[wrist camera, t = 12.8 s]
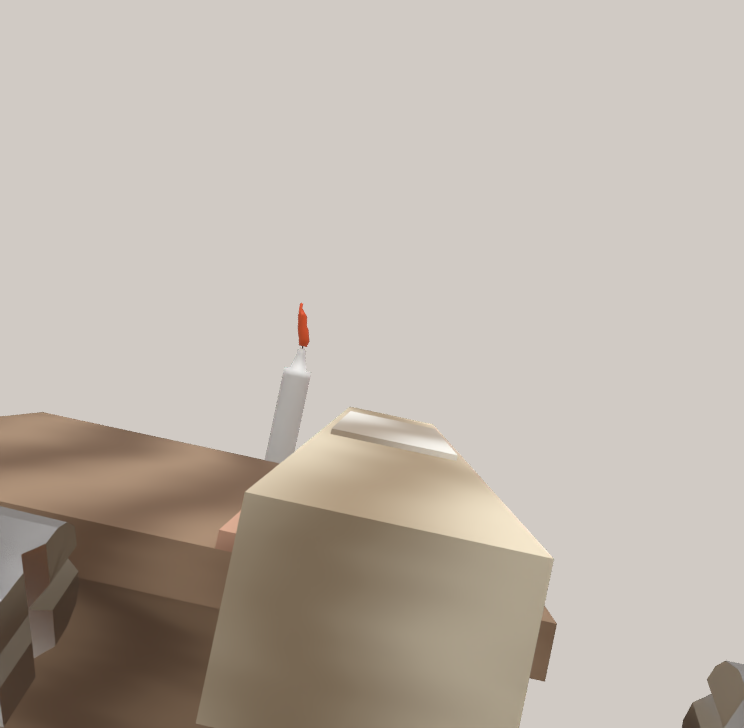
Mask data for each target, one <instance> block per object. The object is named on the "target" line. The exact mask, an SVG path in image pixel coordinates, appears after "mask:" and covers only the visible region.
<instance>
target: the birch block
mask: <svg viewBox="0 0 744 728" xmlns="http://www.w3.org/2000/svg"><path fill="white" fill-rule="evenodd" d="M553 561H554V558H553V557H552V556H551V555H550V554H549V553H548V552H547V551H546V550H545V548H544V547H543V546H542V545H541V544H540V543H539V542H538V541H537V540H536V538H535V537H534V536H533V535H532V534H531V533H530V532H529V531H528V530H527V528H526V527H525V526H524V525H523V524H522V523H521V522H520V521H519V520H518V519H517V517H516V516H515V515H514V514H513V513H512V512H511V511H510V510H509V508H508V507H507V506H506V505H505V504H504V503H503V502H502V501H501V500H500V499H499V497H498V496H497V495H496V494H495V493H494V492H493V491H492V490H491V488H490V487H489V486H488V485H487V484H486V483H485V482H484V481H483V480H482V479H481V477H480V476H479V475H478V474H477V473H476V472H475V471H474V470H473V468H472V467H471V466H470V465H469V464H468V463H467V462H466V461H465V460H464V459H463V457H462V456H461V455H460V454H459V453H458V452H457V451H456V450H455V448H453V446H452V445H451V444H450V443H449V442H448V441H447V440H446V438H445V437H444V436H443V435H442V434H441V433H440V432H439V431H438V430H437V428H436V427H435V426H434V425H433V424H429V423H423V422H419V421H414V420H410V419H405V418H401V417H396V416H391V415H386V414H382V413H377V412H372V411H368V410H362V409H358V408H353V407H349V408H348V409H347V410H345V411H344V412H343V413H342V414H341V415H339V416H338V417H337V418H336V419H334V420H333V421H332V422H331V423H329V424H328V425H327V426H326V427H324V428H323V429H322V430H321V431H319V432H318V433H317V434H316V435H315V436H313V437H312V438H311V439H310V440H308V441H307V442H306V443H305V444H304V445H302V446H301V447H300V448H299V449H297V450H296V451H295V452H294V453H292V454H291V455H290V456H289V457H287V458H286V459H285V460H284V461H282V462H281V463H280V464H279V465H277V466H276V467H275V468H274V469H273V470H271V471H270V472H269V473H268V474H266V475H265V476H264V477H263V478H261V479H260V480H259V481H258V482H256V483H255V484H254V485H253V486H252V487H250V488H249V489H248V490H247V491H245V494H244V498H243V503H242V508H241V512H240V517H239V522H238V526H237V531H236V536H235V541H234V545H233V550H232V555H231V559H230V564H229V569H228V574H227V578H226V583H225V588H224V592H223V597H222V602H221V607H220V611H219V616H218V621H217V625H216V630H215V635H214V639H213V644H212V649H211V654H210V658H209V663H208V668H207V672H206V677H205V682H204V687H203V691H202V696H201V701H200V705H199V710H198V715H197V719H196V724H200V725H204V726H209V727H213V728H519V725H520V721H521V715H522V711H523V706H524V701H525V696H526V692H527V687H528V682H529V677H530V672H531V667H532V663H533V658H534V653H535V648H536V643H537V639H538V634H539V629H540V624H541V619H542V614H543V610H544V605H545V600H546V595H547V590H548V585H549V581H550V575H551V571H552V566H553Z"/></svg>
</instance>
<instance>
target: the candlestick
mask: <svg viewBox="0 0 744 728" xmlns="http://www.w3.org/2000/svg"><path fill="white" fill-rule="evenodd" d="M302 306H303V304H302V303H301V304H300V308H299V314H298V335H299V345H301V346H302V348H300V349H298V352H297V355H296V356H295V358H294V360H293V362H292V364H291V366H290V368H288V367H284V372H283V377H282V381H281V386H280V391H279V396H278V400H277V405H276V410H275V414H274V419H273V424H272V428H271V433H270V438H269V443H268V447H267V452H266V457H265V460H266V461H271V462H276V463H281V462H282V461H284V460H285V459H286V458H287V457H289V456H290V455H291V454H292V453H294V451H295V446H296V442H297V437H298V432H299V427H300V422H301V418H302V413H303V409H304V404H305V399H306V394H307V390H308V385H309V380H310V375H311V372H307V371H306V360H305V354H306V351H305V349H303V346H305V347H307V345H308V343H309V332H308V328H307V316H306V314H305V313H304V311H303V309H302Z"/></svg>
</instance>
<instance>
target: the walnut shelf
mask: <svg viewBox="0 0 744 728" xmlns="http://www.w3.org/2000/svg"><path fill="white" fill-rule="evenodd" d="M279 464H280V463H276V462H271V461H266V460H261V459H257V458H252V457H248V456H243V455H238V454H234V453H229V452H224V451H220V450H215V449H210V448H206V447H201V446H197V445H192V444H187V443H183V442H178V441H173V440H169V439H164V438H159V437H155V436H150V435H146V434H141V433H136V432H132V431H127V430H123V429H118V428H113V427H109V426H104V425H99V424H94V423H90V422H85V421H80V420H76V419H71V418H67V417H62V416H57V415H53V414H48V413H44V412H40V413H30V414H21V415H11V416H1V417H0V506H2V507H6V508H10V509H14V510H18V511H23V512H27V513H31V514H35V515H39V516H44V517H48V518H52V519H56V520H60V521H64V522H68V523H70V524H72V525H74V526H75V533H76V542H77V546H76V547H75V549H74V550H73V552H72V553H71V555H70V556H69V558H68V559H69V560H70V561H71V563H72V564H73V565H74V566H75V568H76V569H77V570H78V571H79V589H78V596H77V602H76V605H75V608H74V610H73V613H72V615H71V618H70V621H69V623H68V626H67V628H66V629H65V631H64V633H63V634H62V636H61V637H60V639H59V641H58V642H57V644H56V646H54V647H53V648H51V649H49V650H47V651H46V652H44V653H42V654H41V655H39V656H37V657H35V658H34V666H35V676H36V677H35V679H34V681H33V682H32V684H31V685H30V687H29V688H28V690H27V692H26V693H25V695H24V696H23V698H22V699H21V701H20V703H19V704H18V706H17V707H16V709H15V710H14V712H13V714H12V715H11V717H10V718H9V720H8V721H7V723H6V725H5V726H4V727H0V728H213V727H209V726H204V725H200V724H196V719H197V715H198V710H199V705H200V701H201V696H202V691H203V687H204V682H205V677H206V672H207V668H208V663H209V658H210V654H211V649H212V644H213V639H214V635H215V630H216V625H217V621H218V616H219V611H220V607H221V602H222V597H223V592H224V588H225V583H226V578H227V574H228V569H229V564H230V559H231V555H232V550H233V545H234V541H235V536H236V531H237V526H238V522H239V517H240V512H241V508H242V503H243V498H244V494H245V491H247V490H248V489H249V488H250V487H252V486H253V485H254V484H255V483H256V482H258V481H259V480H260V479H261V478H263V477H264V476H265V475H266V474H268V473H269V472H270V471H271V470H273V469H274V468H275V467H276V466H277V465H279ZM556 625H557V623H556V622H555V621H554V619H553V618H552V616H551V615H550V613H549V612H548V610H547V609H546V607H545V606H544V610H543V614H542V619H541V624H540V629H539V634H538V639H537V643H536V648H535V653H534V658H533V663H532V667H531V672H530V677H529V678H531V679H536V680H541V681H545V678H546V673H547V669H548V664H549V659H550V654H551V649H552V644H553V639H554V635H555V630H556Z"/></svg>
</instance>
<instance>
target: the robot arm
mask: <svg viewBox="0 0 744 728" xmlns="http://www.w3.org/2000/svg"><path fill="white" fill-rule="evenodd" d="M76 546H77V542H76V533H75V526H74V525H72V524H70V523H68V522H64V521H60V520H56V519H52V518H48V517H44V516H39V515H35V514H31V513H27V512H23V511H18V510H14V509H10V508H6V507H2V506H0V727H4V726H5V725H6V723H7V721H8V720H9V718H10V717H11V715H12V714H13V712H14V710H15V709H16V707H17V706H18V704H19V703H20V701H21V699H22V698H23V696H24V695H25V693H26V692H27V690H28V688H29V687H30V685H31V684H32V682H33V681H34V679H35V677H36V676H35V666H34V658H35V657H37V656H39V655H41V654H42V653H44V652H46V651H47V650H49V649H51V648H53V647H54V646H56V644H57V642H58V641H59V639H60V637H61V636H62V634H63V633H64V631H65V629H66V628H67V626H68V623H69V621H70V618H71V615H72V613H73V610H74V608H75V605H76V602H77V596H78V589H79V571H78V570H77V569H76V568H75V566H74V565H73V564H72V563H71V561H70V560H69V559H68V558H69V556H70V555H71V553H72V552H73V550H74V549H75V547H76ZM707 681H708V684H709V687H710V690H711V693H712V694H710V695H708V696H706V697H704V698H702V699H699V700H697V701H695V702H693V703H692V705H691V707H690V709H689V711H688V712H687V714H686V716H685V718H684V720H683V725H682V728H744V664H739V663H734V662H729V661H724V662H722V663H721V664H719V665H717V666H715V668H714V669H713V671H712V673H711V674H710V676H709V677H708V679H707Z"/></svg>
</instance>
